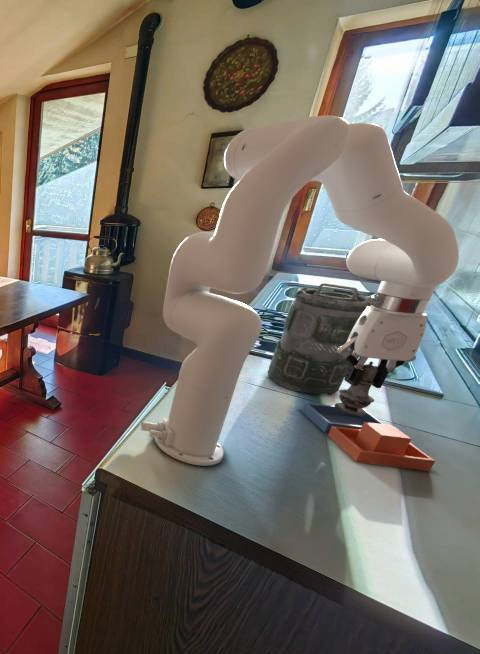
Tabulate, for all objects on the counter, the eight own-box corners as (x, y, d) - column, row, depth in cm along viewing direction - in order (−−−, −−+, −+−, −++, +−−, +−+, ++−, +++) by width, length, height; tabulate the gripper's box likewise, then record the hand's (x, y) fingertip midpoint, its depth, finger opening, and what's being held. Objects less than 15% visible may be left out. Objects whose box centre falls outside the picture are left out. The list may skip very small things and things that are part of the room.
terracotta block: (371, 455, 79) (381, 435, 77) (354, 441, 83) (364, 421, 81) (400, 459, 78) (412, 438, 76) (382, 444, 82) (392, 425, 80)
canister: (259, 381, 110) (293, 284, 99) (273, 366, 120) (306, 276, 109) (332, 403, 99) (379, 296, 88) (341, 385, 109) (385, 286, 98)
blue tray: (324, 432, 87) (328, 423, 86) (301, 411, 95) (305, 402, 94) (389, 440, 85) (394, 430, 84) (359, 418, 93) (364, 409, 92)
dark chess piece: (374, 417, 85) (398, 368, 81) (343, 414, 86) (366, 365, 82) (355, 404, 90) (377, 357, 86) (326, 401, 92) (346, 354, 87)
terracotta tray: (355, 461, 78) (361, 451, 77) (327, 435, 86) (332, 425, 85) (429, 471, 75) (435, 461, 74) (393, 443, 84) (398, 433, 83)
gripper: (363, 305, 77) (328, 387, 84) (466, 312, 74) (420, 397, 81) (339, 296, 84) (308, 373, 91) (432, 302, 80) (393, 381, 88)
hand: (361, 383), depth 86 cm, fingers closed on dark chess piece, 3 cm apart
